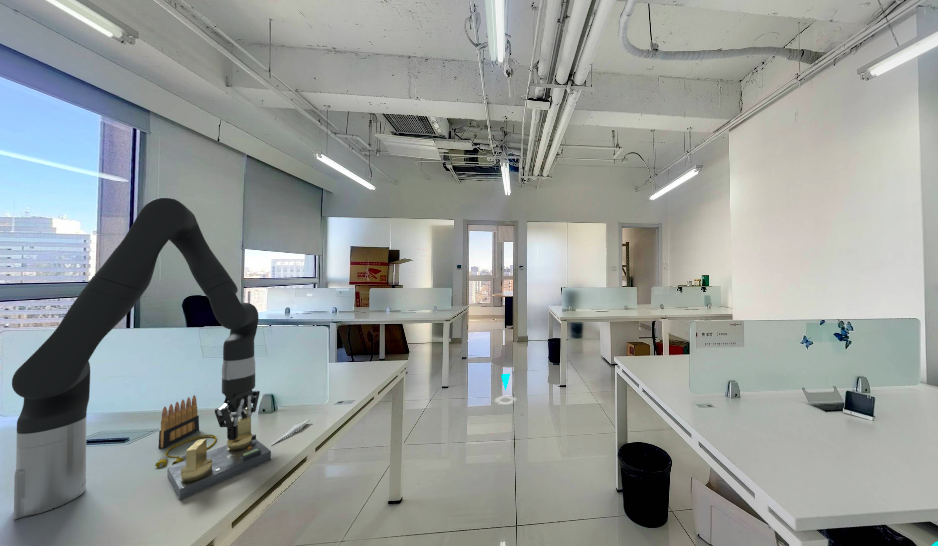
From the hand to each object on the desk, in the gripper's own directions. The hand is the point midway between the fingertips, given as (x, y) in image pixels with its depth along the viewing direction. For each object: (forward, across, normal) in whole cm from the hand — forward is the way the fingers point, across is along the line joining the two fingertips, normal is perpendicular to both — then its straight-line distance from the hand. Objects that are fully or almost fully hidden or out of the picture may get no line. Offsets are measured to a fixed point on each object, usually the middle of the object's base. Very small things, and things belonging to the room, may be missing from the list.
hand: (238, 434), depth 84 cm
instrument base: (+6, +6, 0) cm, 8 cm away
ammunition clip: (+6, -10, -26) cm, 28 cm away
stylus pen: (+6, -11, +8) cm, 15 cm away
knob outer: (+3, 0, 0) cm, 3 cm away
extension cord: (+6, -3, -17) cm, 19 cm away
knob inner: (+3, +12, 0) cm, 13 cm away
